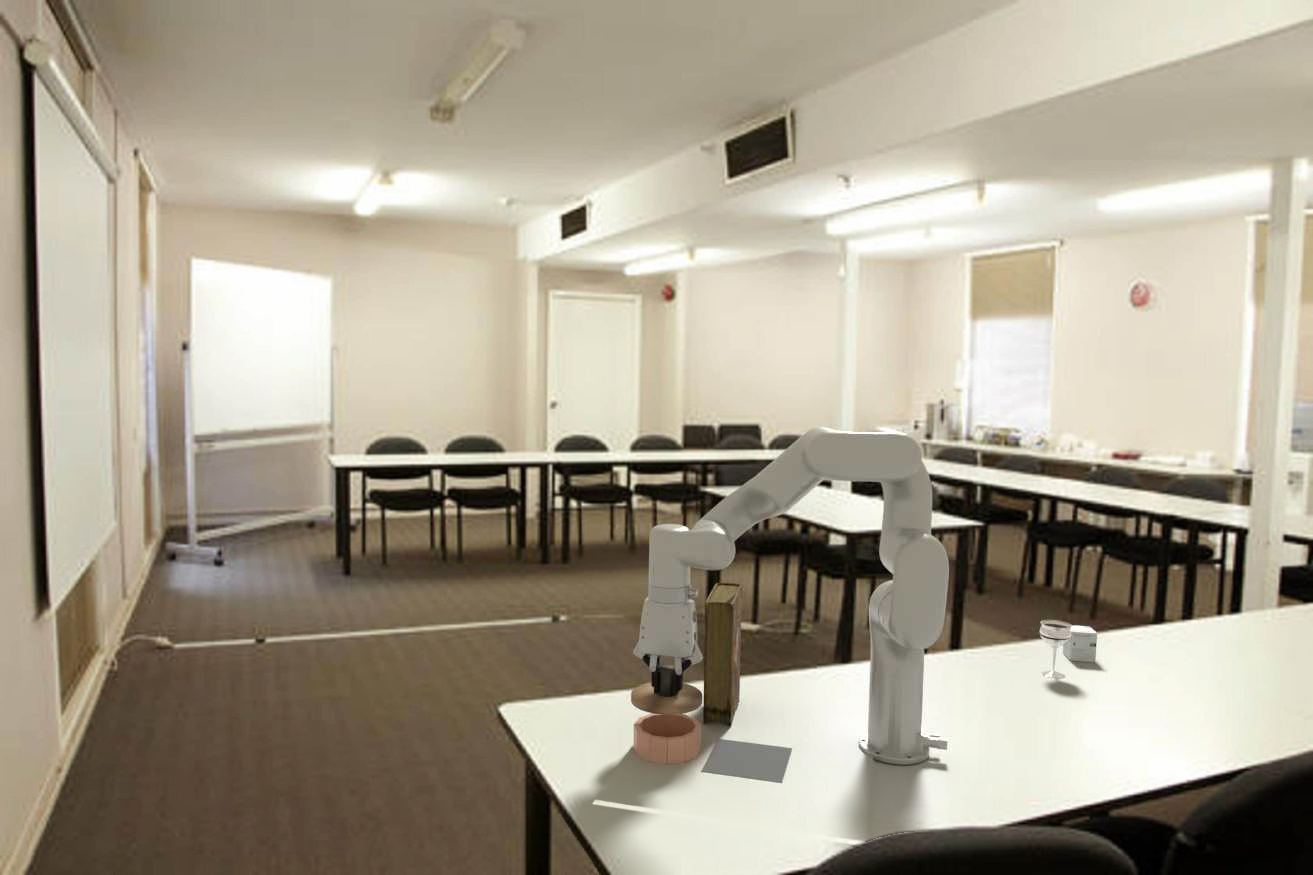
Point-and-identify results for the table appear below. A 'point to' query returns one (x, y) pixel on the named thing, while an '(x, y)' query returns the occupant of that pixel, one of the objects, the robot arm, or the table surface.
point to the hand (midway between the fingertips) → (666, 691)
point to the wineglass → (1055, 640)
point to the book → (722, 653)
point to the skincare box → (1081, 644)
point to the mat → (748, 760)
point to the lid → (666, 696)
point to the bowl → (667, 738)
